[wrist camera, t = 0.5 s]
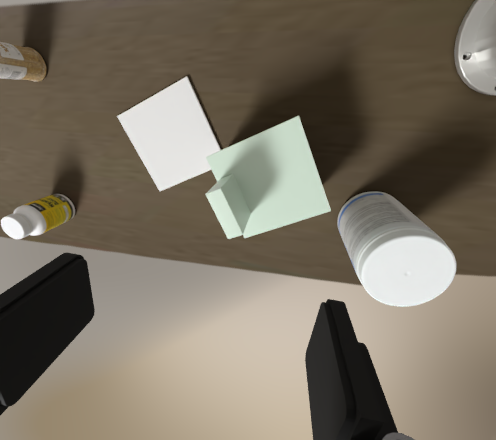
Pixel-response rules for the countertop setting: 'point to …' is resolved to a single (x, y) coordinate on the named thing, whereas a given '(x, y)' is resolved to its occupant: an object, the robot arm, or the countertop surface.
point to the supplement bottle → (38, 216)
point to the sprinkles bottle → (21, 63)
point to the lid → (266, 181)
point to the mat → (171, 134)
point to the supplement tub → (394, 251)
